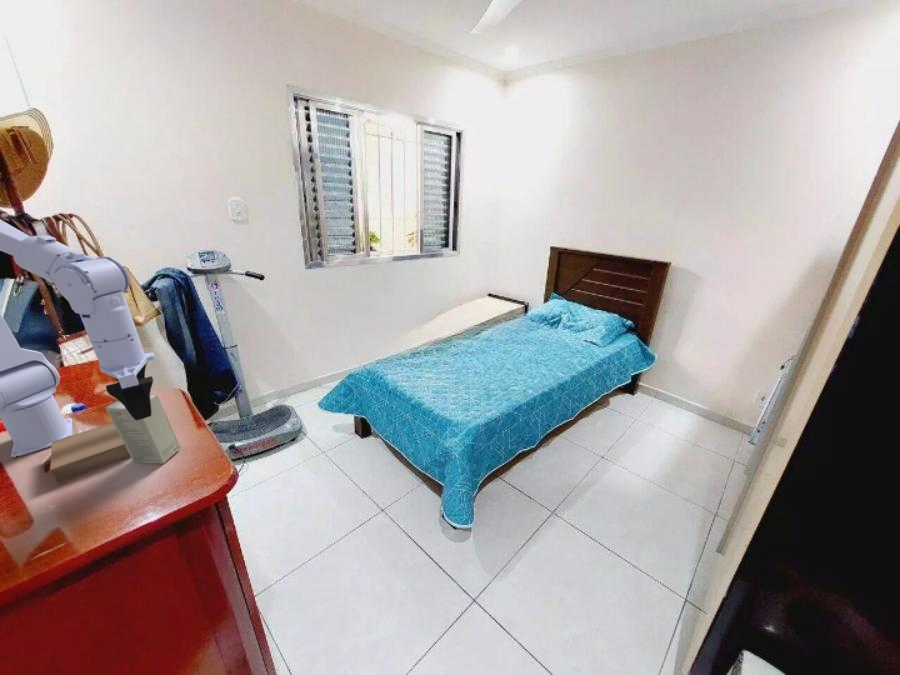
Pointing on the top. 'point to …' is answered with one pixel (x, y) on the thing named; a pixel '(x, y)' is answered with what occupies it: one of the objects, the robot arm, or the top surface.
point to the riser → (86, 452)
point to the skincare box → (145, 432)
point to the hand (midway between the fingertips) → (141, 408)
